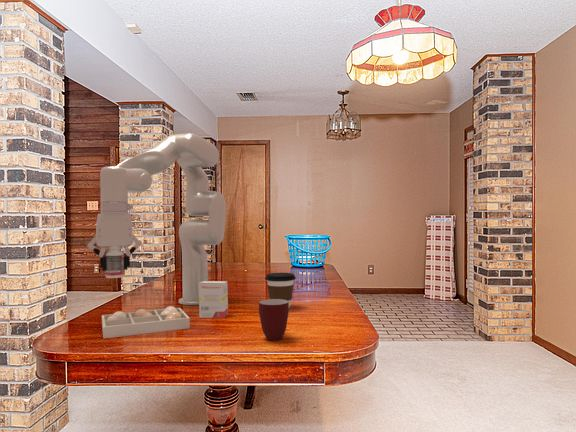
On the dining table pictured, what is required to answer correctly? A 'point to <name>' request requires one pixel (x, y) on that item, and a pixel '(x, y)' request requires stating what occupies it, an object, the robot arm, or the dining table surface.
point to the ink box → (213, 299)
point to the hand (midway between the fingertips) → (115, 269)
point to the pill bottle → (114, 262)
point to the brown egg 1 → (142, 313)
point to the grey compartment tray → (143, 324)
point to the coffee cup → (280, 286)
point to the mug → (273, 317)
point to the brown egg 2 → (173, 315)
